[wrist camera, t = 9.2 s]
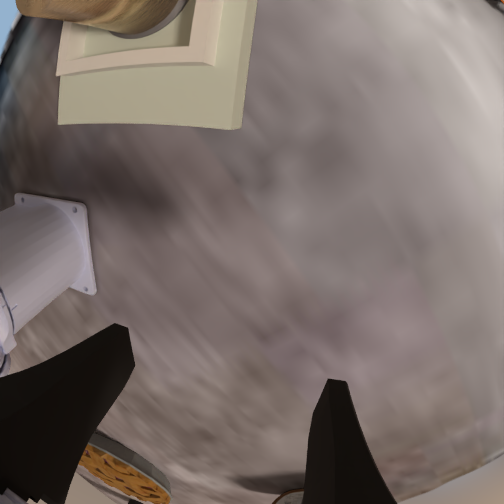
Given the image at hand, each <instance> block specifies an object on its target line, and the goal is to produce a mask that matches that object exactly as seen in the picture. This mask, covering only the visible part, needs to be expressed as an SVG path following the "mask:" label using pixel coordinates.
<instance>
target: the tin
mask: <svg viewBox="0 0 504 504" xmlns="http://www.w3.org/2000/svg"><path fill="white" fill-rule="evenodd" d="M303 494H304V489H295V490H291V491H288V492H286V493H284V494H282V495H281V496H279V497H278V498H277V499H276V500H275V501H274V502H273V503H272V504H302V500H303Z"/></svg>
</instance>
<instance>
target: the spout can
mask: <svg viewBox="0 0 504 504" xmlns="http://www.w3.org/2000/svg"><path fill="white" fill-rule="evenodd" d="M177 2H178V0H16V5H17V8H18V10H19V11H20V13H22V14H23V15H26V16H33V17H41V18H48V19H55V20H61V21H67V22H73V23H78V24H83V25H88V26H92V27H97V28H101V29H106V30H110V31H114V32H118V33H122V34H127V35H133V34H139V33H142V32H145V31H147V30H150V29H151V28H153V27H155V26H156V25H158V24H159V23H160V22H162V21H163V20H164V19H165V18H166V17H167V16H168V15H169V14H170V13H171V11H172V10H173V9H174V7H175V6H176V4H177Z"/></svg>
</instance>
